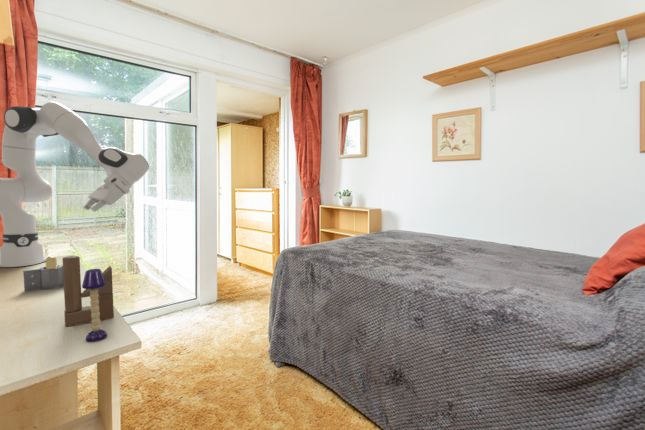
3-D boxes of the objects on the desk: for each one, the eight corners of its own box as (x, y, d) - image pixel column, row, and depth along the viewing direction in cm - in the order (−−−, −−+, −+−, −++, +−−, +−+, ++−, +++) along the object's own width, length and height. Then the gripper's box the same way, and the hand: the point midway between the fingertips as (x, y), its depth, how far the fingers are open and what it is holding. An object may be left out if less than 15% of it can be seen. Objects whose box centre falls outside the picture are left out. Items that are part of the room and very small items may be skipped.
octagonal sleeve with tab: (23, 289, 117) (21, 269, 116) (75, 280, 128) (74, 262, 127) (26, 293, 113) (25, 272, 112) (79, 283, 124) (78, 265, 123)
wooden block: (114, 318, 93) (111, 254, 91) (65, 327, 86) (61, 259, 85) (112, 314, 96) (109, 252, 94) (64, 323, 89) (61, 256, 88)
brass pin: (46, 286, 120) (44, 256, 120) (56, 284, 123) (55, 255, 122) (47, 288, 118) (46, 257, 118) (58, 286, 121) (57, 256, 120)
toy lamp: (80, 339, 80) (76, 270, 78) (100, 331, 84) (97, 266, 83) (93, 343, 78) (89, 273, 76) (112, 335, 82) (109, 268, 81)
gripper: (101, 179, 143) (74, 202, 136) (118, 180, 129) (89, 205, 123) (113, 189, 147) (87, 212, 140) (131, 191, 133) (104, 217, 127)
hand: (88, 209), depth 131 cm, fingers open, 8 cm apart
